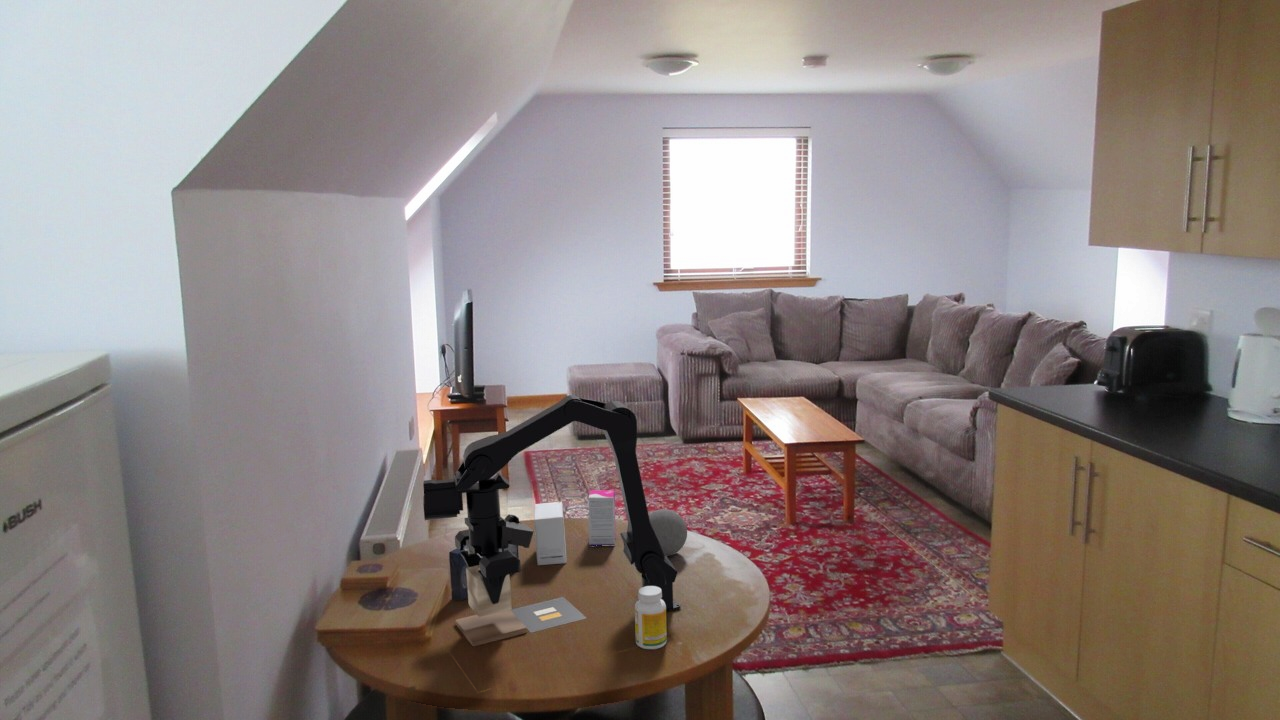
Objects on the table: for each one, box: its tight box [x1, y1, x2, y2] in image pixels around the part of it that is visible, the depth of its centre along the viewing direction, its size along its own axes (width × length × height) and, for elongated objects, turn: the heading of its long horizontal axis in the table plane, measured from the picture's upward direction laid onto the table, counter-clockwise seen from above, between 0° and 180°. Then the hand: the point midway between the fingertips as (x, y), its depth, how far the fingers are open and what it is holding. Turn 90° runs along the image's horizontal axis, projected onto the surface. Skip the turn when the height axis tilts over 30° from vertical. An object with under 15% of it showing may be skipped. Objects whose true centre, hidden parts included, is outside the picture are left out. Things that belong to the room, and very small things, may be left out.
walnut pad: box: [455, 609, 528, 647], centre depth 164 cm, size 10×10×1 cm
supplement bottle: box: [634, 586, 668, 650], centre depth 156 cm, size 5×5×10 cm
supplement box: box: [588, 489, 616, 546], centre depth 204 cm, size 6×6×12 cm
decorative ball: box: [648, 508, 688, 557], centre depth 196 cm, size 10×10×10 cm
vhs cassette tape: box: [448, 544, 520, 602], centre depth 183 cm, size 18×3×10 cm, turn 148°
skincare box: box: [533, 501, 567, 566], centre depth 197 cm, size 10×6×10 cm, turn 6°
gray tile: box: [510, 596, 587, 634], centre depth 169 cm, size 11×11×1 cm
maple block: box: [466, 565, 513, 617], centre depth 163 cm, size 6×6×7 cm
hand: (489, 596), depth 163 cm, fingers closed on maple block, 6 cm apart
